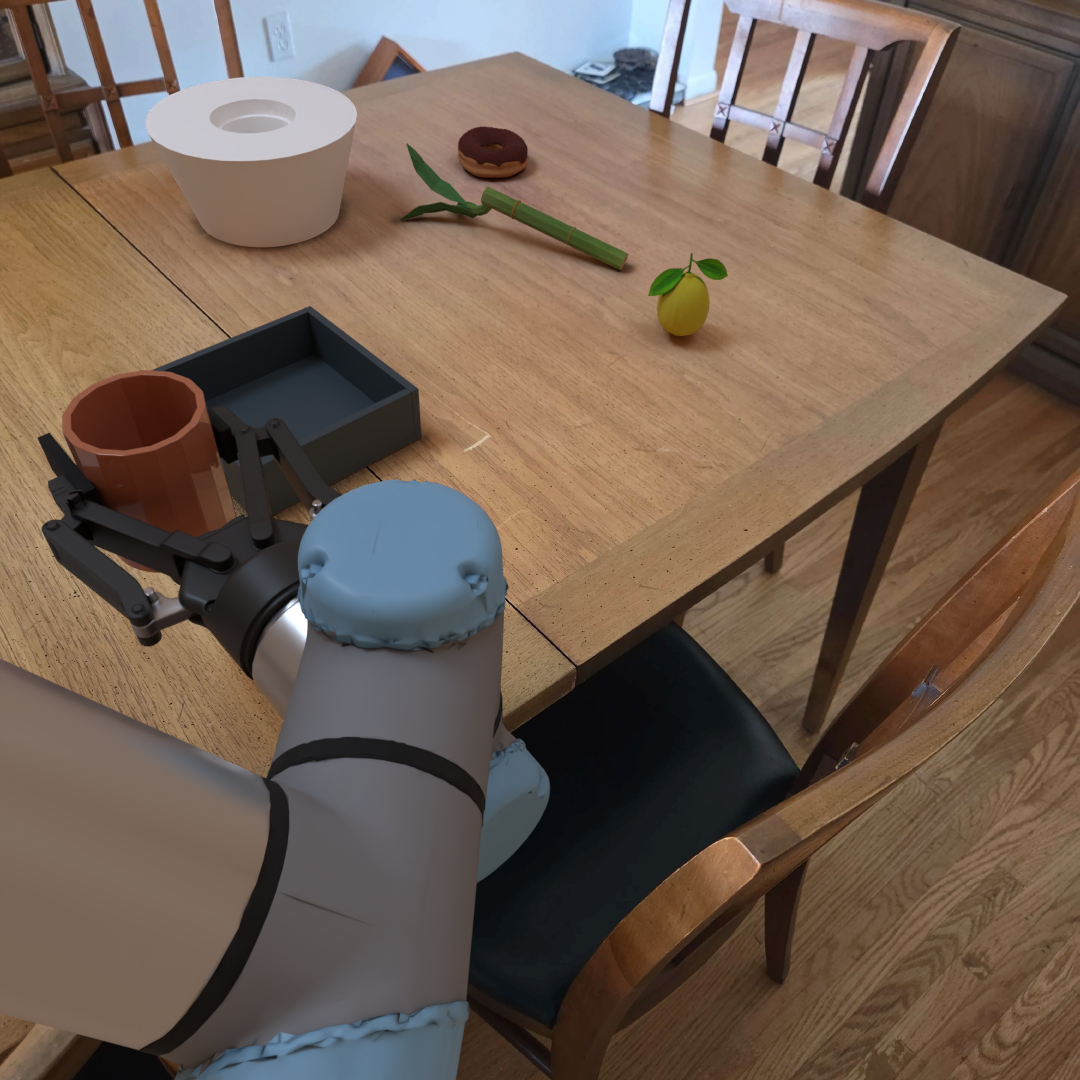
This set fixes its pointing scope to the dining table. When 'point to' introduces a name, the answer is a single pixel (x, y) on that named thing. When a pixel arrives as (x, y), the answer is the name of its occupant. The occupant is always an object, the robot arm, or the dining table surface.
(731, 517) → the dining table surface
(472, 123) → the dining table surface
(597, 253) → the decorative plant
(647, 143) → the dining table surface
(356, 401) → the bin
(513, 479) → the dining table surface
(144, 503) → the cup
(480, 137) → the donut
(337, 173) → the white tapered round pot
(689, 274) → the lemon
